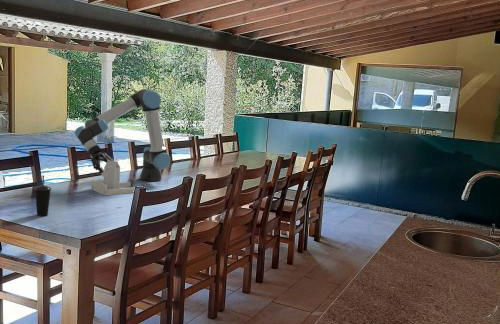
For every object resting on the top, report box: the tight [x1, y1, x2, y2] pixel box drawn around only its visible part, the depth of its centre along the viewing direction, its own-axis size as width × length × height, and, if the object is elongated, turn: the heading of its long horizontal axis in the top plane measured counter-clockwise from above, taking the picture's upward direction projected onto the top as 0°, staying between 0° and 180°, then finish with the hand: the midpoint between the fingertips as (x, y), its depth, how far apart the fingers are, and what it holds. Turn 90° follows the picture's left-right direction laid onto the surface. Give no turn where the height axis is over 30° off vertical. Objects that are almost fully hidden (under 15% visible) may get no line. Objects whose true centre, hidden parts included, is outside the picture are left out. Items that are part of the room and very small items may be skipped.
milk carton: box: [103, 160, 121, 189], centre depth 310 cm, size 7×7×19 cm
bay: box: [91, 178, 146, 196], centre depth 314 cm, size 28×18×6 cm
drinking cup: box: [34, 175, 52, 217], centre depth 246 cm, size 8×8×20 cm
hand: (112, 175), depth 309 cm, fingers open, 13 cm apart
